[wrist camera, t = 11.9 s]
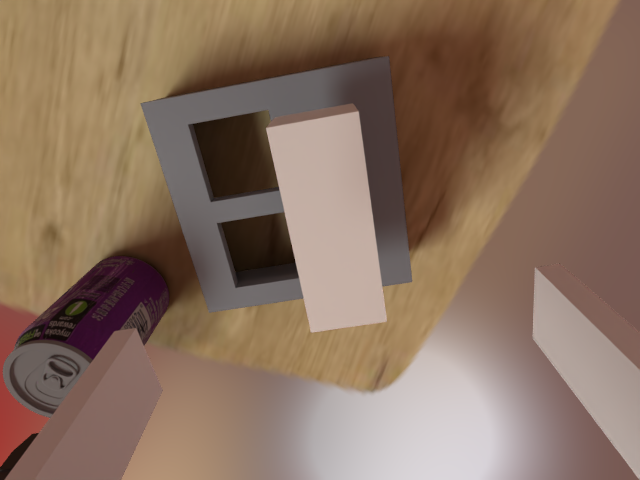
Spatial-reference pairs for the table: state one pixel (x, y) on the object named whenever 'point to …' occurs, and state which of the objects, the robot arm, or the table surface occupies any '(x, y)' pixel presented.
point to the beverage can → (83, 330)
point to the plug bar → (329, 215)
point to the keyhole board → (208, 212)
